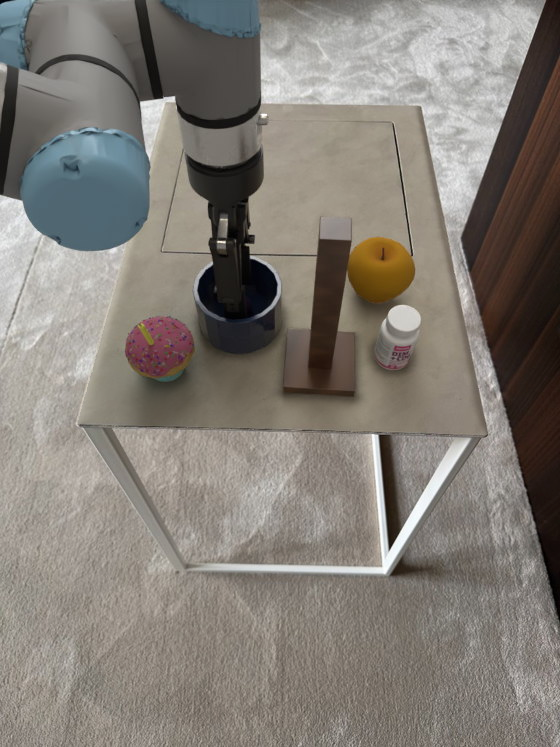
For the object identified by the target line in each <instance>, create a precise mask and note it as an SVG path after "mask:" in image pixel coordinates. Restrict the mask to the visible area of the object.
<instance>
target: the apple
mask: <svg viewBox="0 0 560 747" xmlns="http://www.w3.org/2000/svg"><path fill="white" fill-rule="evenodd" d="M346 275H347V278H348V279H347V280H348V282H349V284H350V285H351V287H352V289H353V291H354V293H356V295H357V296H358V297H360V298H361V299H363V300H364V301H366V302H368V303H370V304H374V305H375V304H383V303H386V302H388V301H391V300H393V299H395V298H397V297H399V296H401V295H402V294H403V293H404V292H406V290H408V288H409V287H410V285H411V284H412V283H413V281H414V280H415V275H416V265H415V262H414V259H413V256H412V255H411V254H410V252H409V251H408V249H406V247H405V246H404V245H403V244H402V243H401V242H399V241H396V240H394V239H392V238H389V237H388V238H387V237H382V236H373V237H368V238H366V239H364V240H363V241H361V242H360V243H358V244H356V246H355V247H354V248H353V249H352V251H350V256H349V262H348V268H347V274H346Z"/></svg>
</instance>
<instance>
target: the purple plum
mask: <svg viewBox="0 0 560 747" xmlns="http://www.w3.org/2000/svg"><path fill="white" fill-rule="evenodd" d="M245 299H246V311H247V318H250V317H252V316H254V314H253V309H252V306H251V302H250V300H249V298H248V297H247V296H246V295H245Z"/></svg>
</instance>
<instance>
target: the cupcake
mask: <svg viewBox="0 0 560 747" xmlns="http://www.w3.org/2000/svg"><path fill="white" fill-rule="evenodd" d="M195 345H196V344H195V339H194V336H193V334H192V331H190V329H189V328H188V326H187V325H186V323H184V322H182V321H181V320H178V319H177V318H173V317H171V315H168V316H161V315H158V316H153V317H148V318H146V319H143V320H142V321H141V322H137V324H135V326H134V327H133V328H132V330H131V331H130V332H128V333H127V338H126V339H125V348H124V355H125V357H126V359H127V362H128V364H129V366H130V368H131V369H132V370H133V371H134V372H136V373H137V374H138V375H139V376H142V377H144V378H145V377H147V378H151V379H154V380H155V381H158V382H161V383H164V382H165V383H166V382H171V381H174V380H177V379H178V378H179V377H180V376H181V375H182V374H183V372H184V370H185V369H186V368H187V367H188V366H189V364H190V362H191V360H192V358H193V356H194V354H195V351H196V346H195Z"/></svg>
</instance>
